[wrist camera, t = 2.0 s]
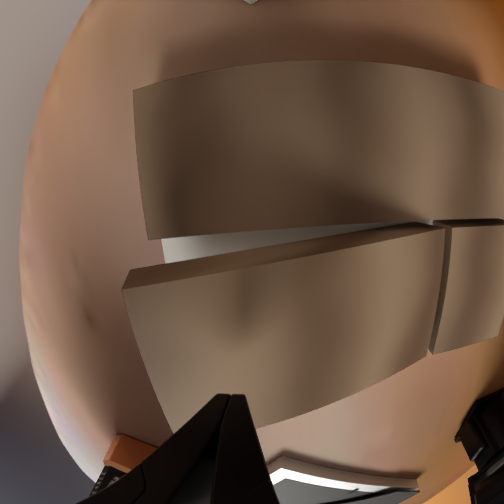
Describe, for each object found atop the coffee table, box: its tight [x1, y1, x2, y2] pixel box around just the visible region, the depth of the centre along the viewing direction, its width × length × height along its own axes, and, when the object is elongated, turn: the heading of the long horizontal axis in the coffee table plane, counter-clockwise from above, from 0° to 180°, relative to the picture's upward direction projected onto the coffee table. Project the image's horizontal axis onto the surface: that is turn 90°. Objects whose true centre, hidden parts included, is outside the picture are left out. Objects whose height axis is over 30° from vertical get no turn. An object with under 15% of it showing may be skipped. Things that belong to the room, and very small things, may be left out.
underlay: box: [161, 218, 502, 350], centre depth 13 cm, size 20×16×1 cm
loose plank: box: [121, 222, 445, 434], centre depth 11 cm, size 13×7×2 cm, turn 96°
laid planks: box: [133, 60, 504, 355], centre depth 12 cm, size 19×14×2 cm
